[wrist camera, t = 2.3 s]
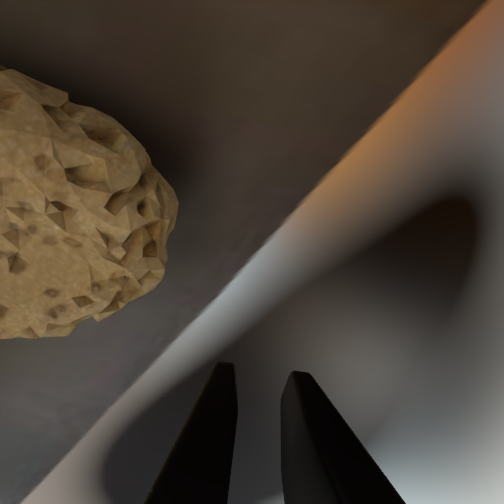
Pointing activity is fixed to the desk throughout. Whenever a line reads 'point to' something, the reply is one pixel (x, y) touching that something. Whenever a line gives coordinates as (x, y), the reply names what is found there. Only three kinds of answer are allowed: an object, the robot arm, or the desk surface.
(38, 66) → the desk surface
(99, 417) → the desk surface
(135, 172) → the sponge
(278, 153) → the desk surface
